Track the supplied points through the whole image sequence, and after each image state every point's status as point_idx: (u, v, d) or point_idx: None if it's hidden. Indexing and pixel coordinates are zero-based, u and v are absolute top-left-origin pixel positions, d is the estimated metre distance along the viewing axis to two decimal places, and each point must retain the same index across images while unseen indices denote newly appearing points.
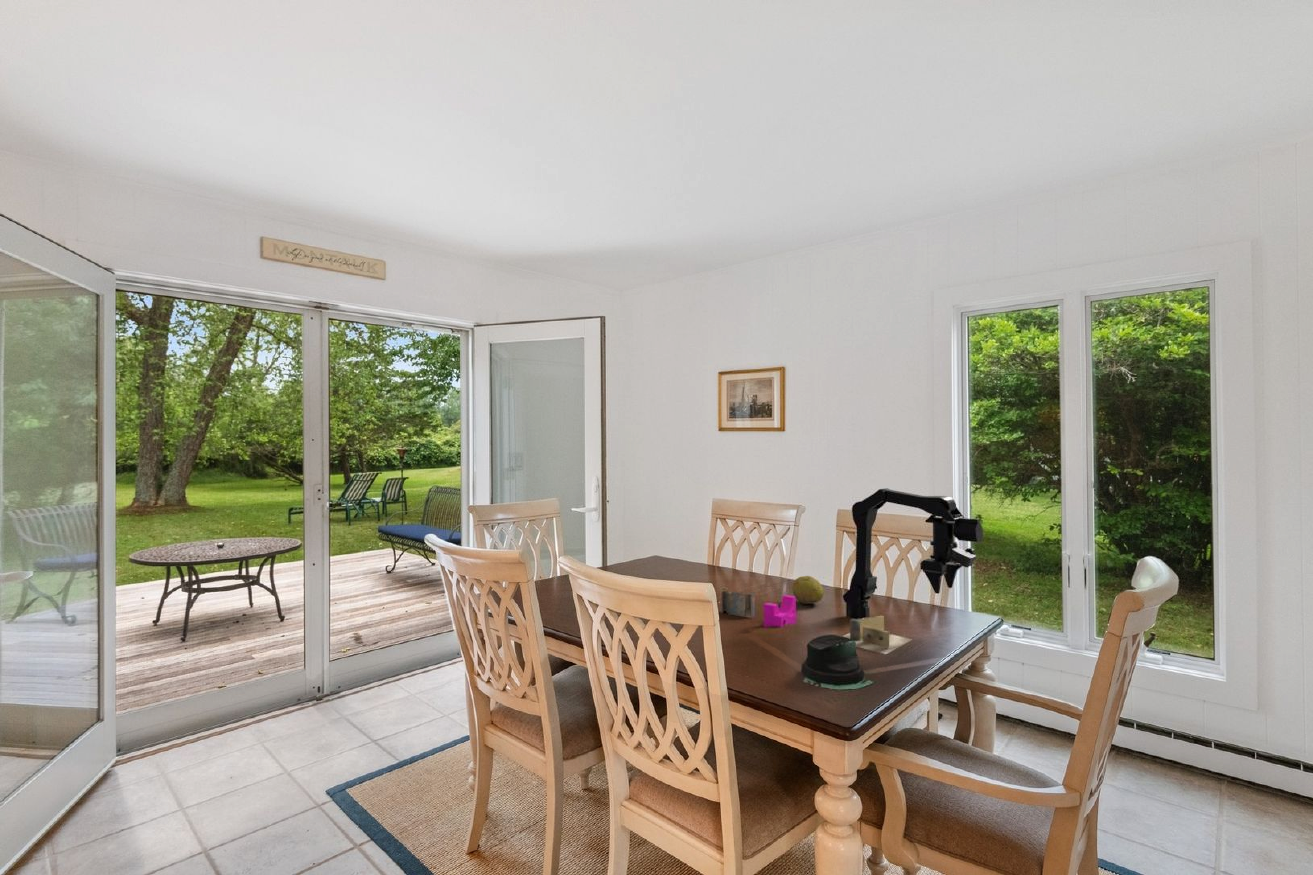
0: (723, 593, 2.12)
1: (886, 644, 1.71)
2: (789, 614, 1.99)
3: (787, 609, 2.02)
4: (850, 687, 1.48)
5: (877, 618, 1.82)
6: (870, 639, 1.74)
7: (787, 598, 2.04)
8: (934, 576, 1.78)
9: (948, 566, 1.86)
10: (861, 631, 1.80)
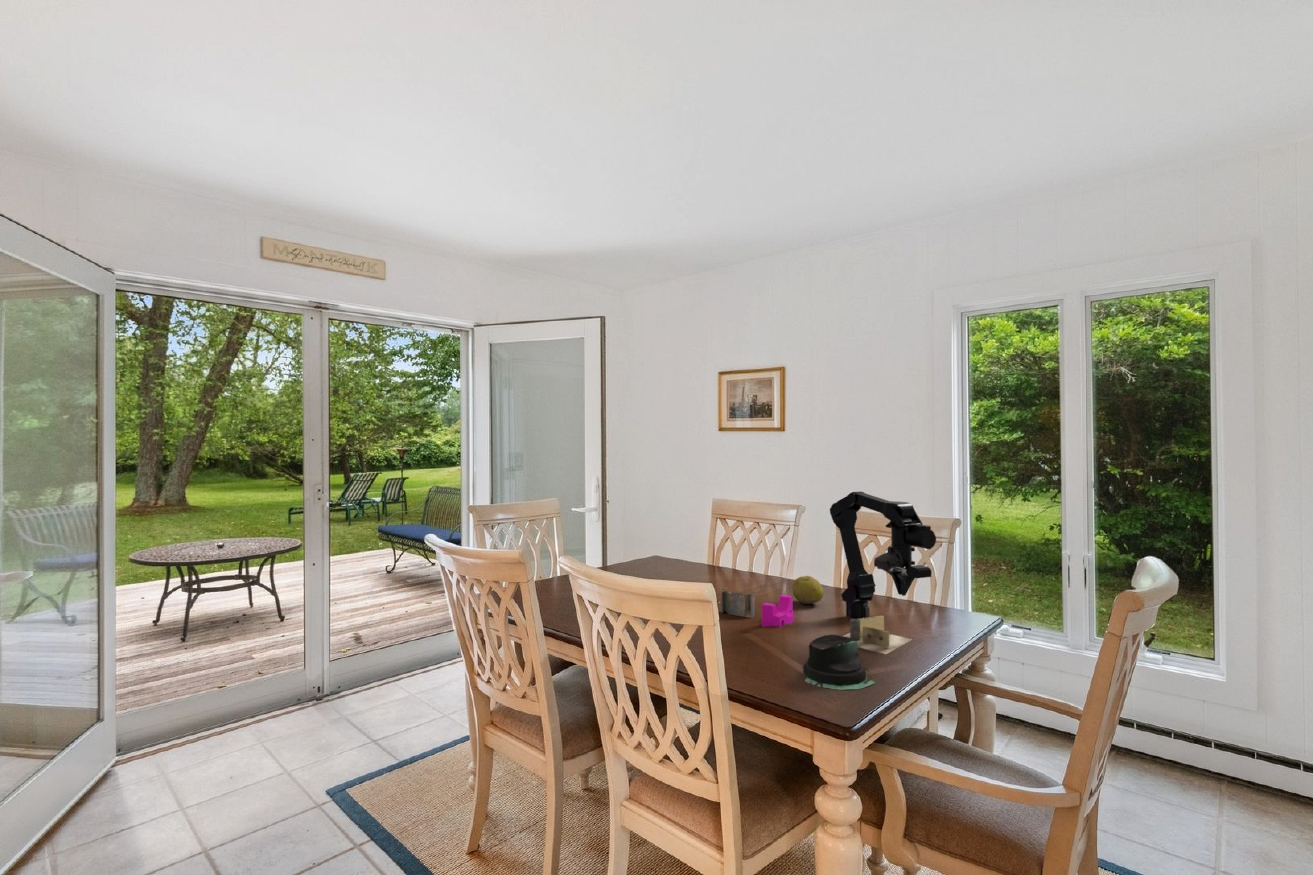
0: (723, 593, 2.12)
1: (886, 644, 1.71)
2: (787, 614, 2.00)
3: (784, 609, 2.03)
4: (852, 687, 1.47)
5: (877, 618, 1.82)
6: (870, 639, 1.74)
7: (784, 598, 2.05)
8: None
9: None
10: (861, 631, 1.80)
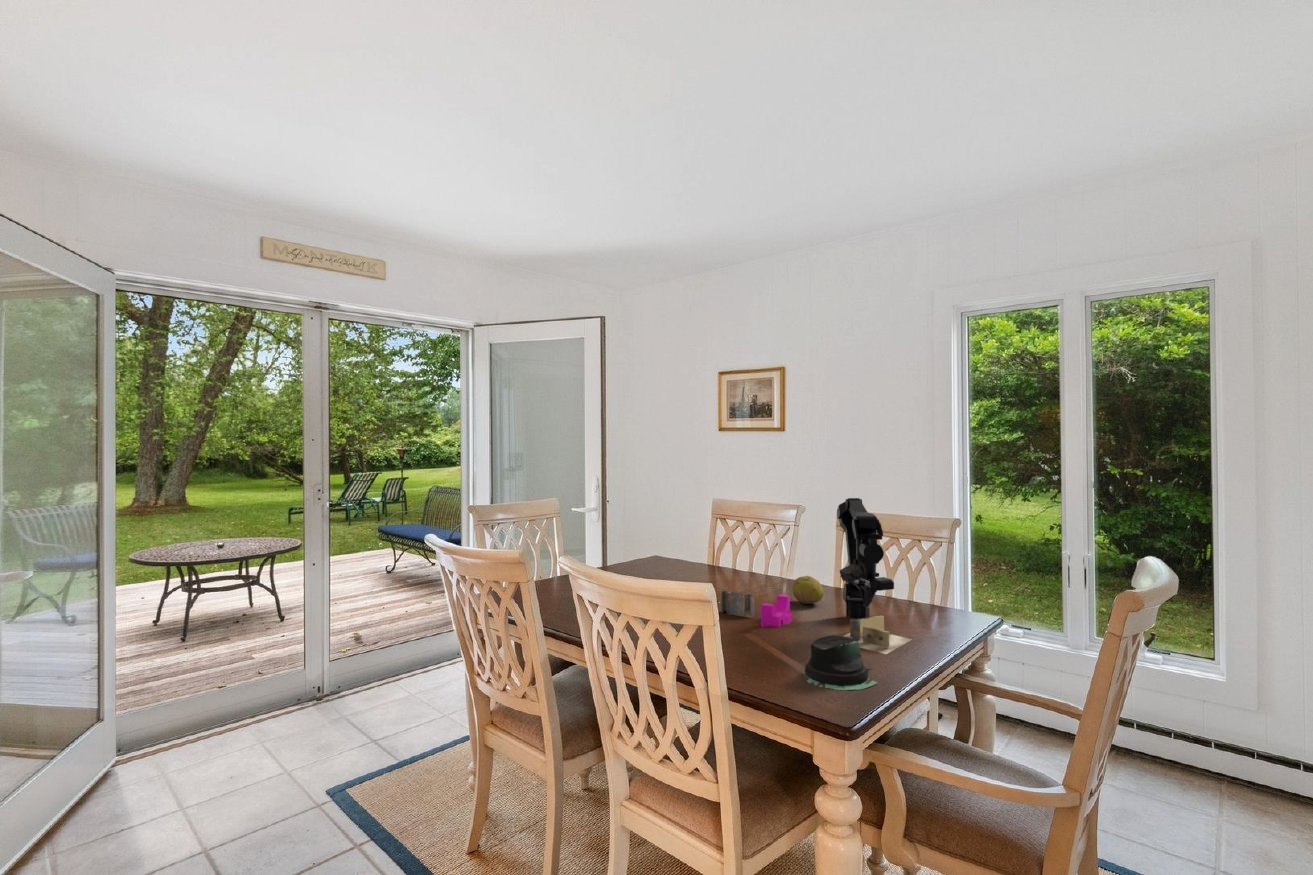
0: (723, 593, 2.12)
1: (886, 644, 1.71)
2: (785, 614, 2.00)
3: (782, 609, 2.03)
4: (854, 688, 1.47)
5: (877, 618, 1.82)
6: (870, 639, 1.74)
7: (781, 598, 2.05)
8: None
9: None
10: (861, 631, 1.80)
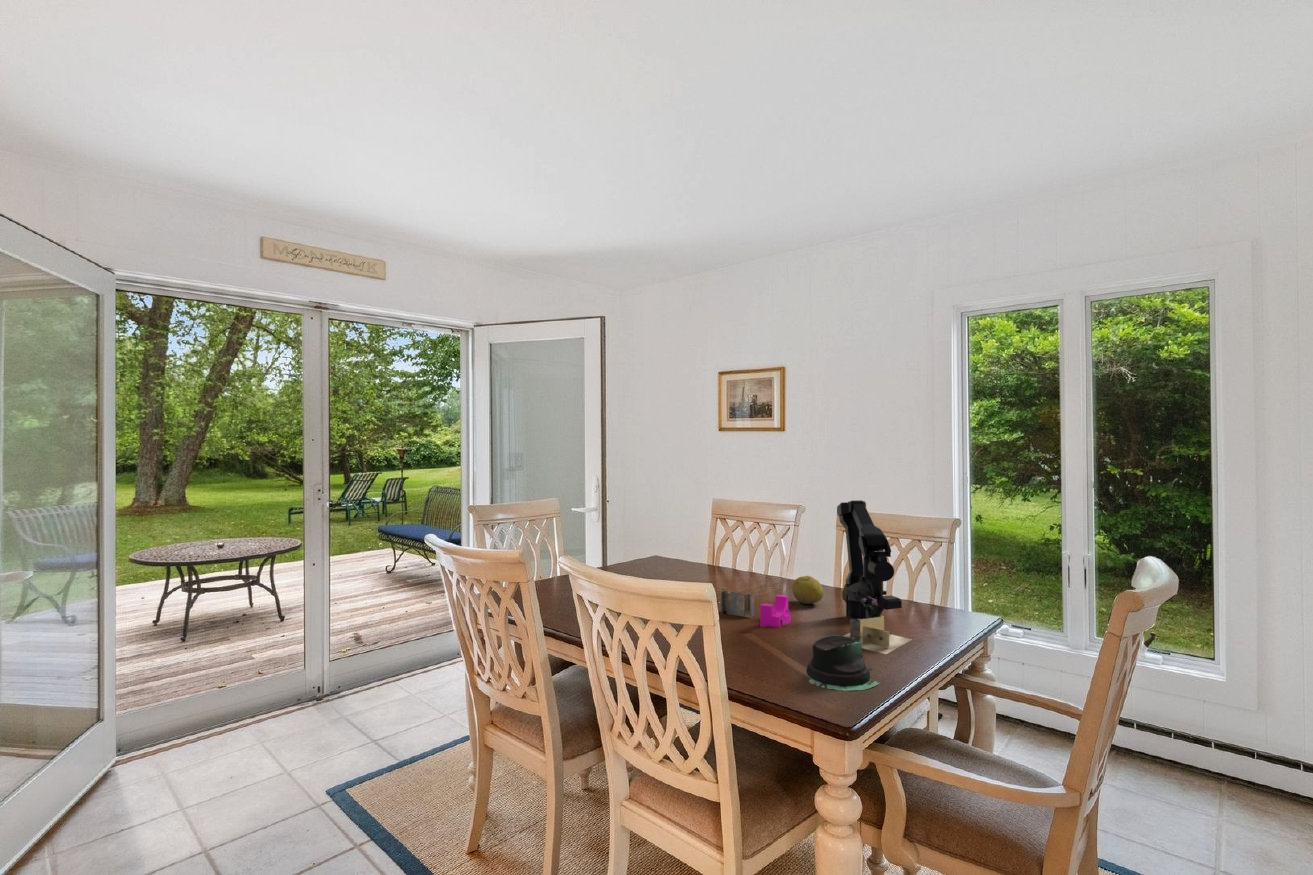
0: (722, 593, 2.12)
1: (886, 644, 1.71)
2: (784, 614, 2.00)
3: (780, 609, 2.03)
4: (856, 688, 1.47)
5: (877, 618, 1.82)
6: (870, 639, 1.74)
7: (780, 598, 2.05)
8: None
9: None
10: (861, 631, 1.80)
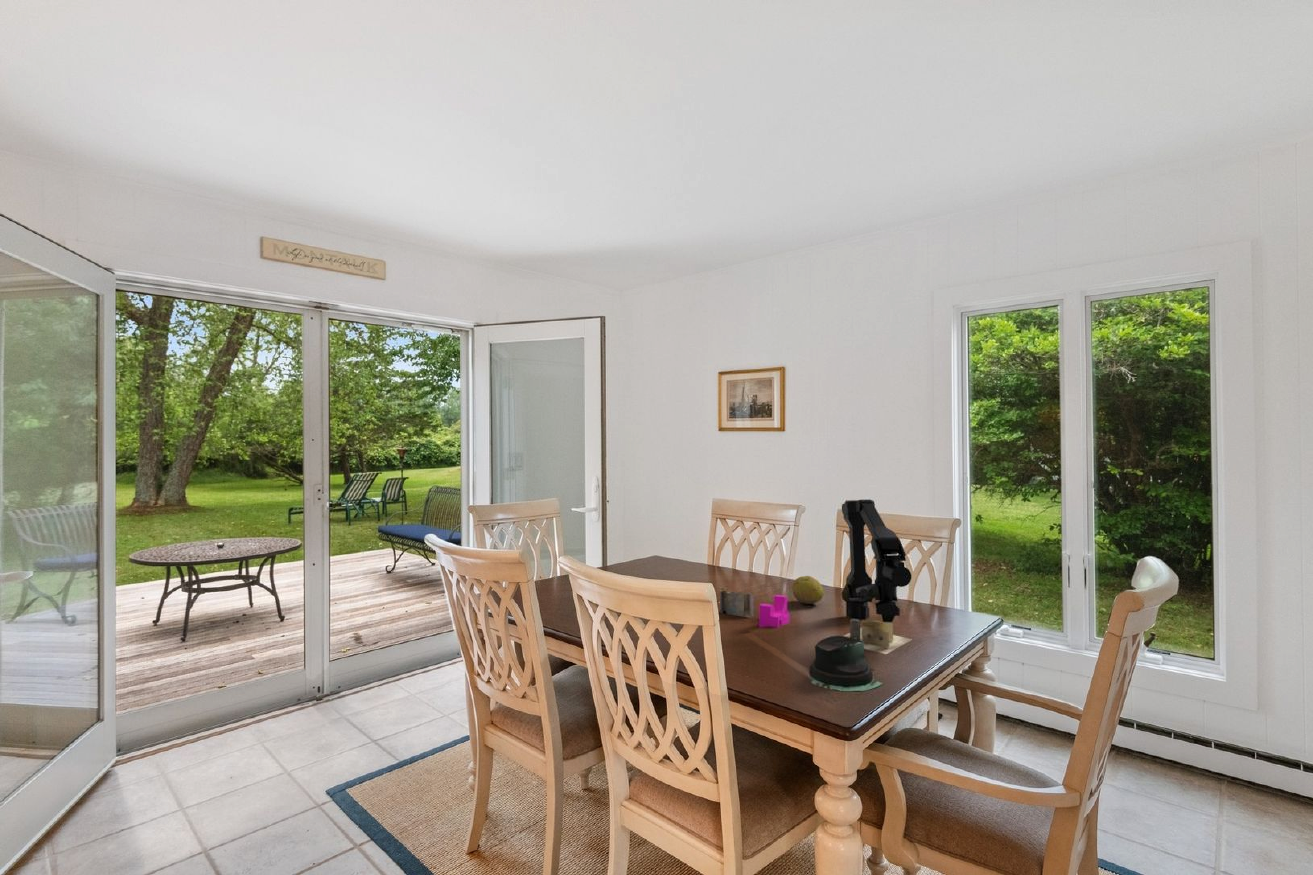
0: (722, 593, 2.12)
1: (886, 644, 1.71)
2: (782, 614, 2.00)
3: (779, 609, 2.02)
4: (859, 689, 1.47)
5: (884, 623, 1.77)
6: (870, 639, 1.74)
7: (779, 598, 2.04)
8: None
9: None
10: None
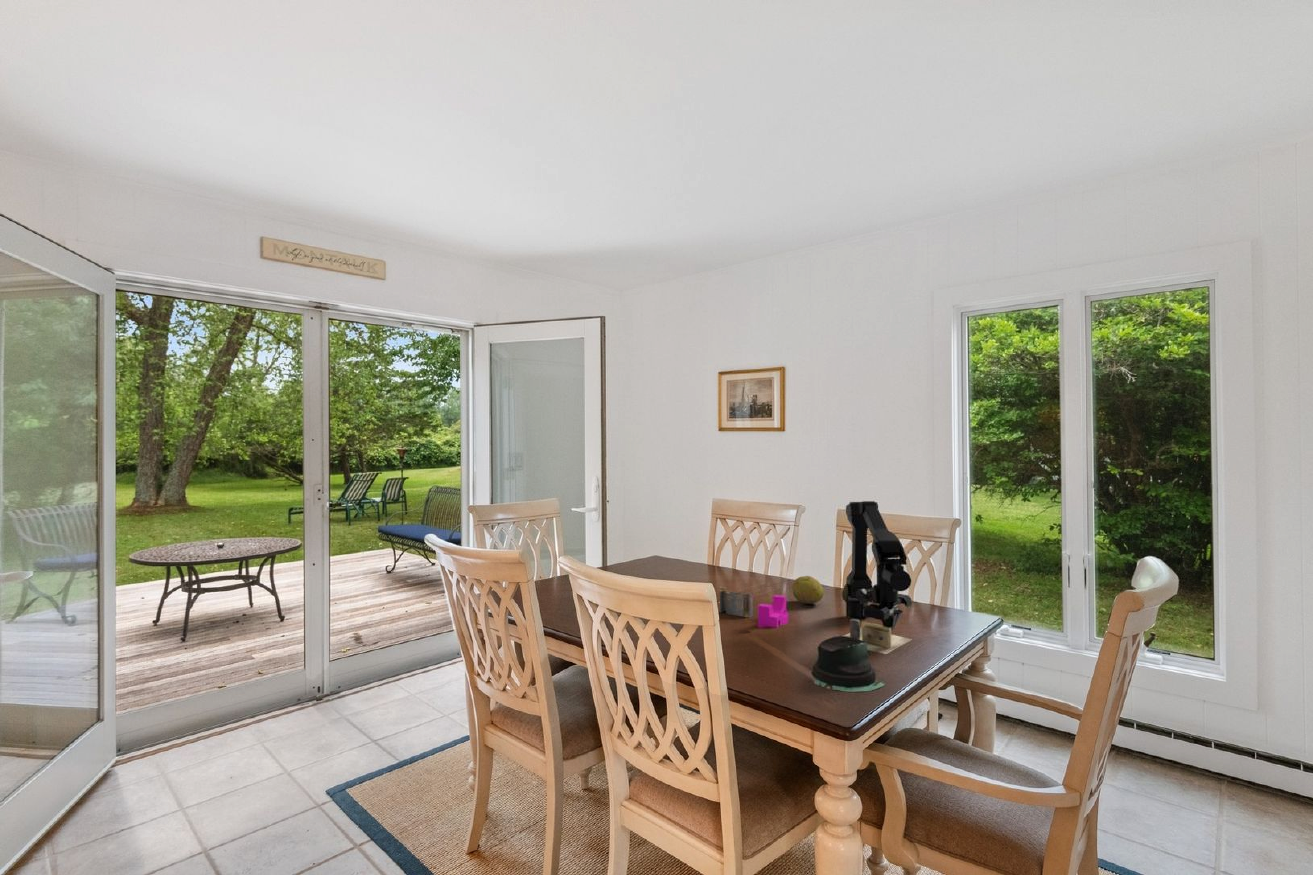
0: (721, 593, 2.12)
1: (886, 644, 1.71)
2: (781, 614, 1.99)
3: (778, 609, 2.02)
4: (862, 689, 1.46)
5: (881, 627, 1.73)
6: (870, 639, 1.74)
7: (778, 598, 2.04)
8: None
9: None
10: (862, 634, 1.78)
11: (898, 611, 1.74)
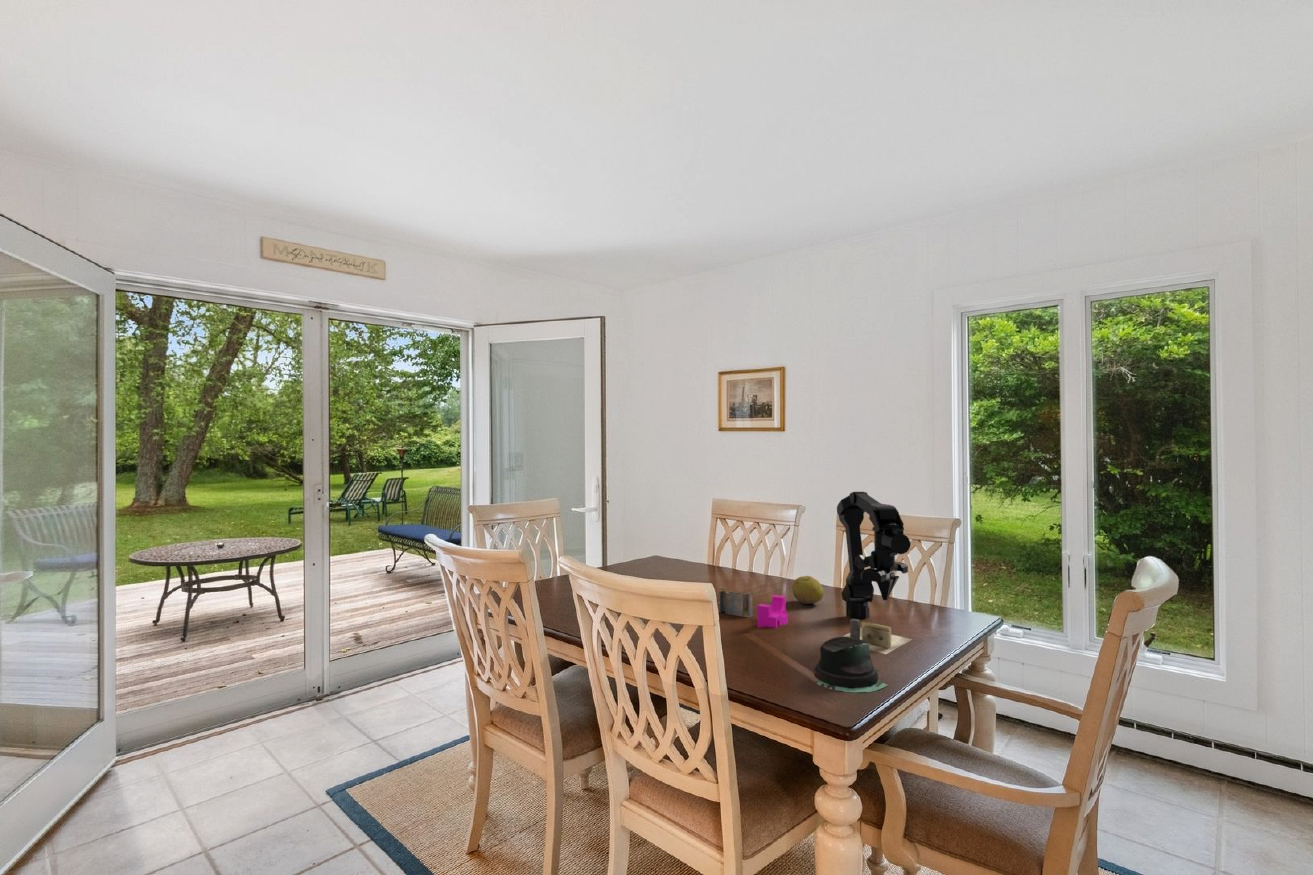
0: (721, 593, 2.13)
1: (886, 644, 1.71)
2: (781, 614, 1.99)
3: (777, 609, 2.02)
4: (865, 690, 1.46)
5: (881, 627, 1.73)
6: (870, 639, 1.74)
7: (777, 598, 2.04)
8: None
9: None
10: (862, 634, 1.78)
11: (895, 576, 1.82)
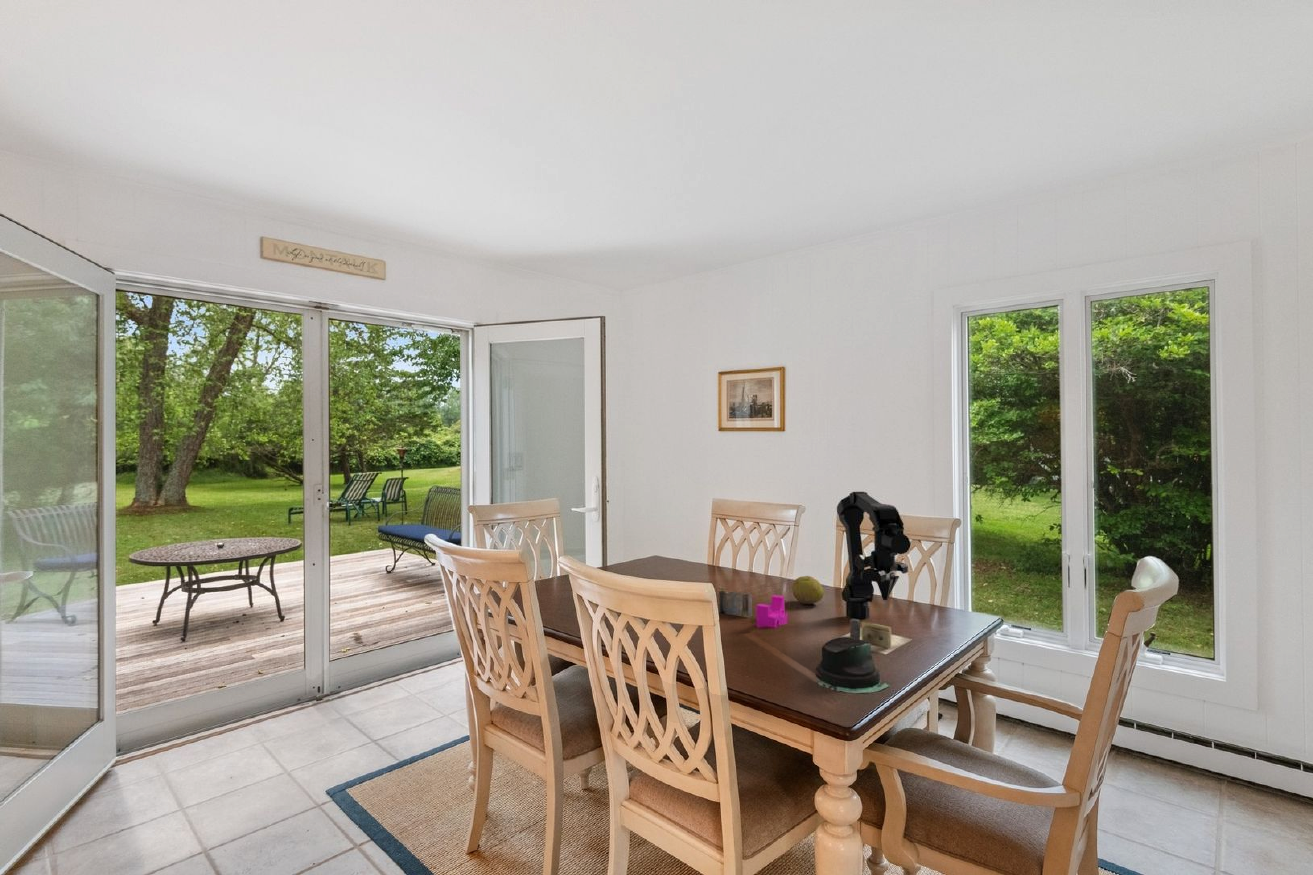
0: (720, 593, 2.13)
1: (886, 644, 1.71)
2: (780, 614, 1.99)
3: (777, 609, 2.02)
4: (866, 690, 1.45)
5: (881, 627, 1.73)
6: (870, 639, 1.74)
7: (776, 598, 2.04)
8: None
9: None
10: (862, 634, 1.78)
11: (895, 576, 1.82)
